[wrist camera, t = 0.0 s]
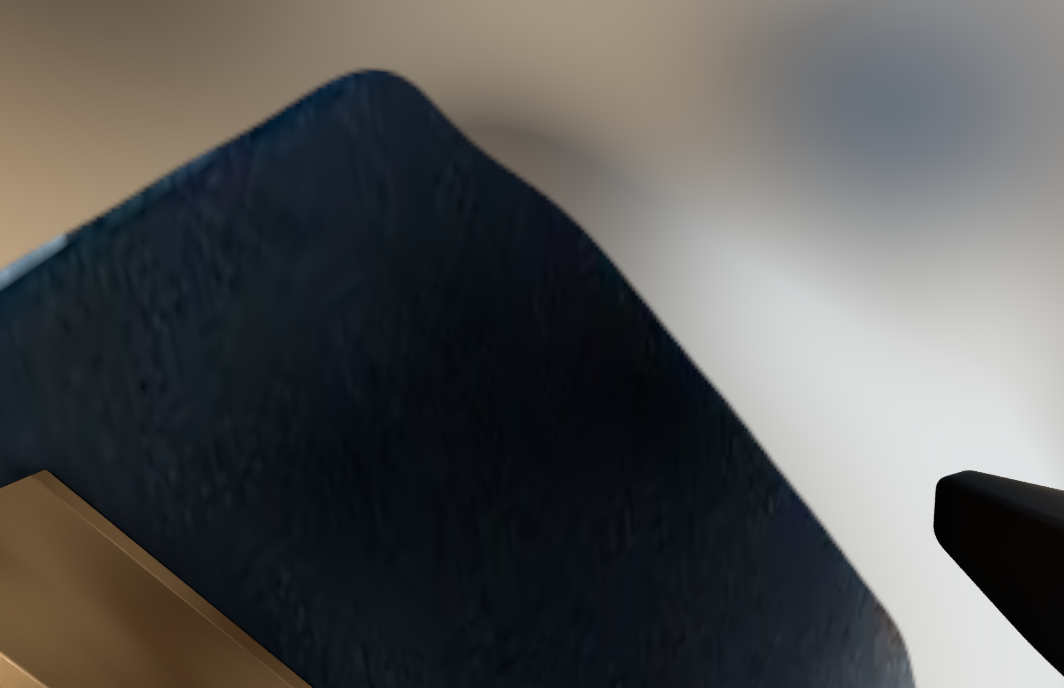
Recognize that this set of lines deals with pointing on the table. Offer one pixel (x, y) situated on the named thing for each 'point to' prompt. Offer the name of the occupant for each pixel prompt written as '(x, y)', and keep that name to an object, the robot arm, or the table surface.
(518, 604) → the table surface
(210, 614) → the keepsake box
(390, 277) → the table surface
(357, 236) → the table surface
